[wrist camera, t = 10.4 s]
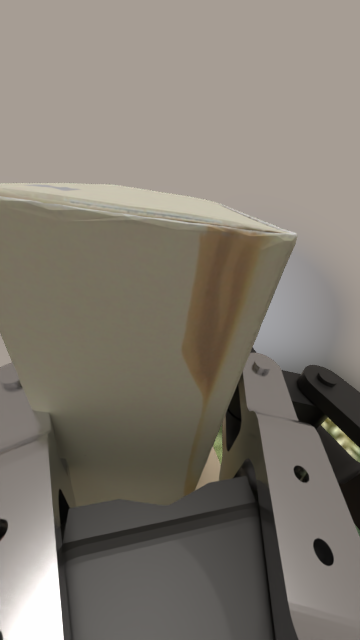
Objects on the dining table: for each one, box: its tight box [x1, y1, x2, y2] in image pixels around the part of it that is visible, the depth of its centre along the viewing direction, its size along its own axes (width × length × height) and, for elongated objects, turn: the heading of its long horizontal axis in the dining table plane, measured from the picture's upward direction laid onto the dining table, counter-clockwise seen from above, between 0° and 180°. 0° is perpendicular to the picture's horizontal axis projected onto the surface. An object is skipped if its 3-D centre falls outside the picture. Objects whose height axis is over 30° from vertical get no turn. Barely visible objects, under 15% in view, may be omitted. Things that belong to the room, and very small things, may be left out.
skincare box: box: [0, 183, 297, 507], centre depth 8 cm, size 6×4×12 cm
